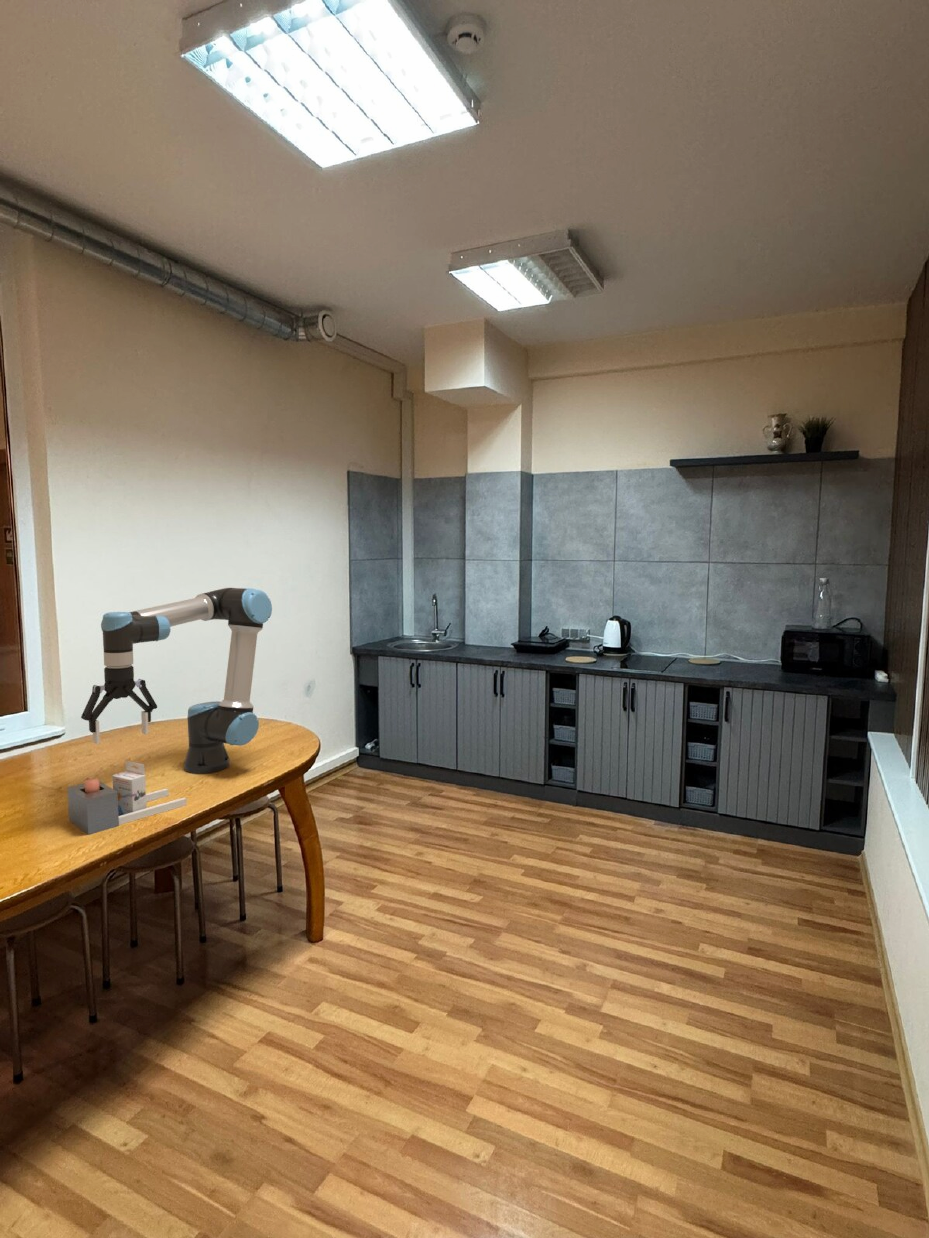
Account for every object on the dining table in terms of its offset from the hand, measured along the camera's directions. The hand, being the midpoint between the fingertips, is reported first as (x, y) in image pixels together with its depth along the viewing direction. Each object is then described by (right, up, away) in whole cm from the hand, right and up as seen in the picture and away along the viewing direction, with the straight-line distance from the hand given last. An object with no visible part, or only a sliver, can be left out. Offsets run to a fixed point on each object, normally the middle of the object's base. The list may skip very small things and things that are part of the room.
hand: (121, 738), depth 194 cm
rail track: (+3, -22, +7) cm, 24 cm away
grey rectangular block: (-6, -24, -4) cm, 25 cm away
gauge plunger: (-6, -16, -5) cm, 18 cm away
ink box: (+1, -23, +4) cm, 23 cm away
